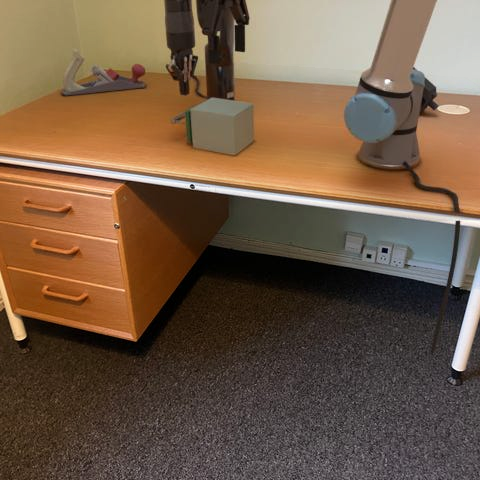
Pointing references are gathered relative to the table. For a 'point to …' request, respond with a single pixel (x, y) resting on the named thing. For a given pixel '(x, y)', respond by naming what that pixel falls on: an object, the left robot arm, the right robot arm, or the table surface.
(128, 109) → the table surface
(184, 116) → the drawer
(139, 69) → the hand plane
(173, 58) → the left robot arm
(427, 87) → the tool
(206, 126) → the grey box
